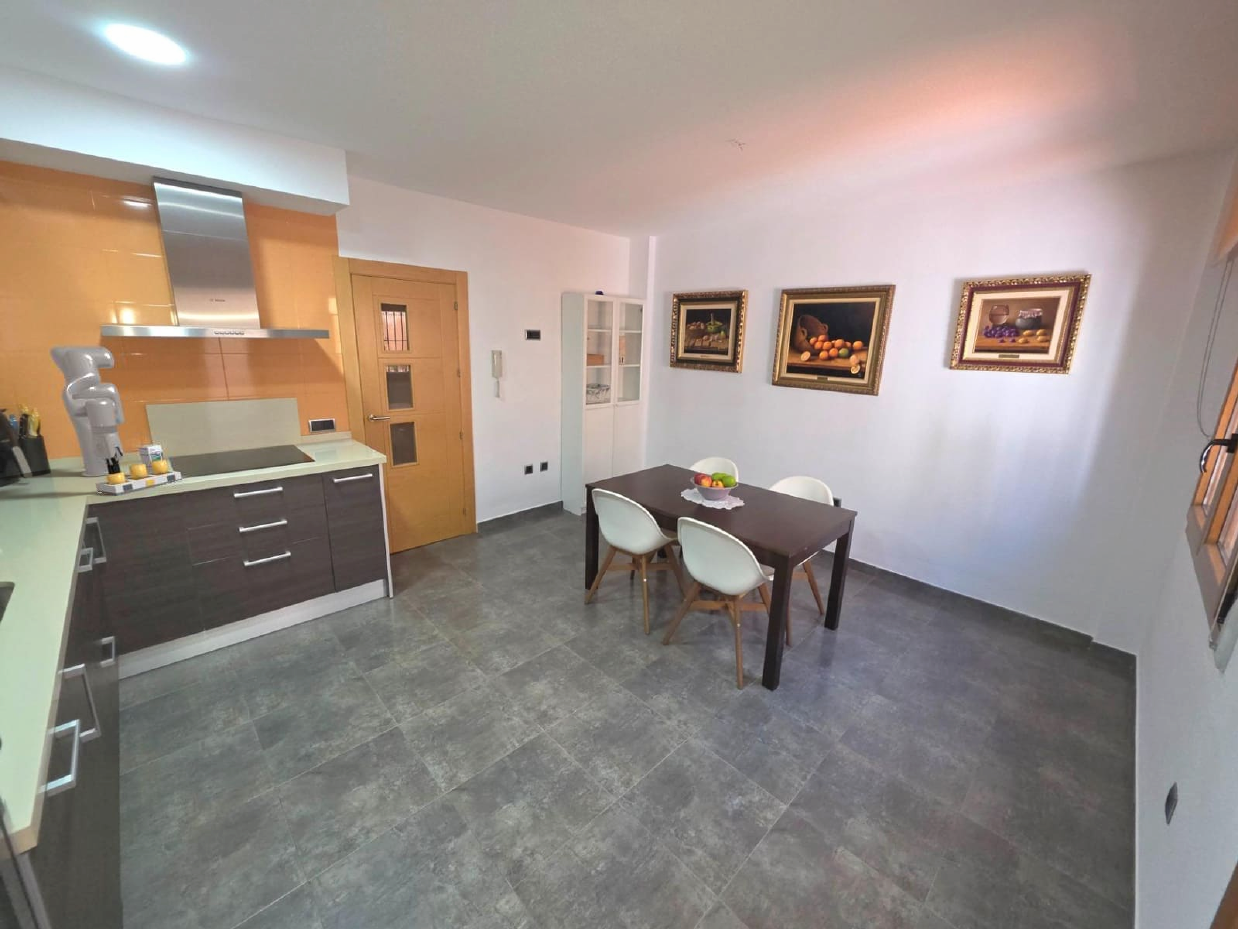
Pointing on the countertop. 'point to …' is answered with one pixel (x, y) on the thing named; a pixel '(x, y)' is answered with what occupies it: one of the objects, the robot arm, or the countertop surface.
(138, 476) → the button mid
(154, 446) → the syrup box
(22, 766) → the countertop surface
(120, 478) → the button near
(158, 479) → the console
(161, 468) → the button far
